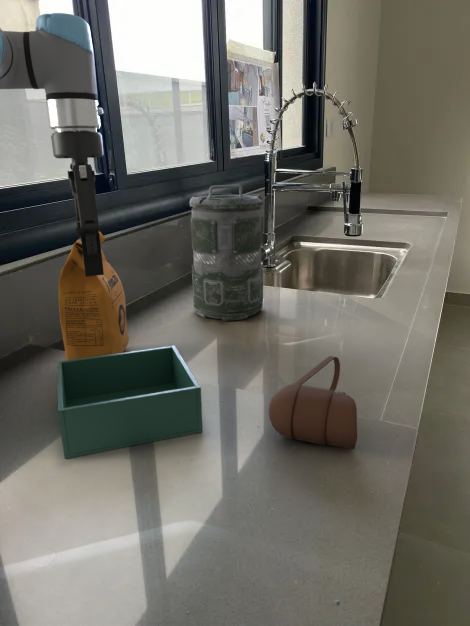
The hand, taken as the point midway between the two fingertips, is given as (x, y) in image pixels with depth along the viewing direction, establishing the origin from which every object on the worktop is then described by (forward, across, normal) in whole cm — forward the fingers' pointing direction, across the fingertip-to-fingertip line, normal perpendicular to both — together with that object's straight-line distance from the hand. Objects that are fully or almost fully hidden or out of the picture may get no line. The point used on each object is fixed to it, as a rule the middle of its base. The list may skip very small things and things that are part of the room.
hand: (91, 266), depth 83 cm
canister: (+17, +18, -30) cm, 39 cm away
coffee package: (+17, 0, 0) cm, 17 cm away
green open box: (+17, -22, -2) cm, 28 cm away
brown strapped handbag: (+17, -32, -27) cm, 45 cm away
